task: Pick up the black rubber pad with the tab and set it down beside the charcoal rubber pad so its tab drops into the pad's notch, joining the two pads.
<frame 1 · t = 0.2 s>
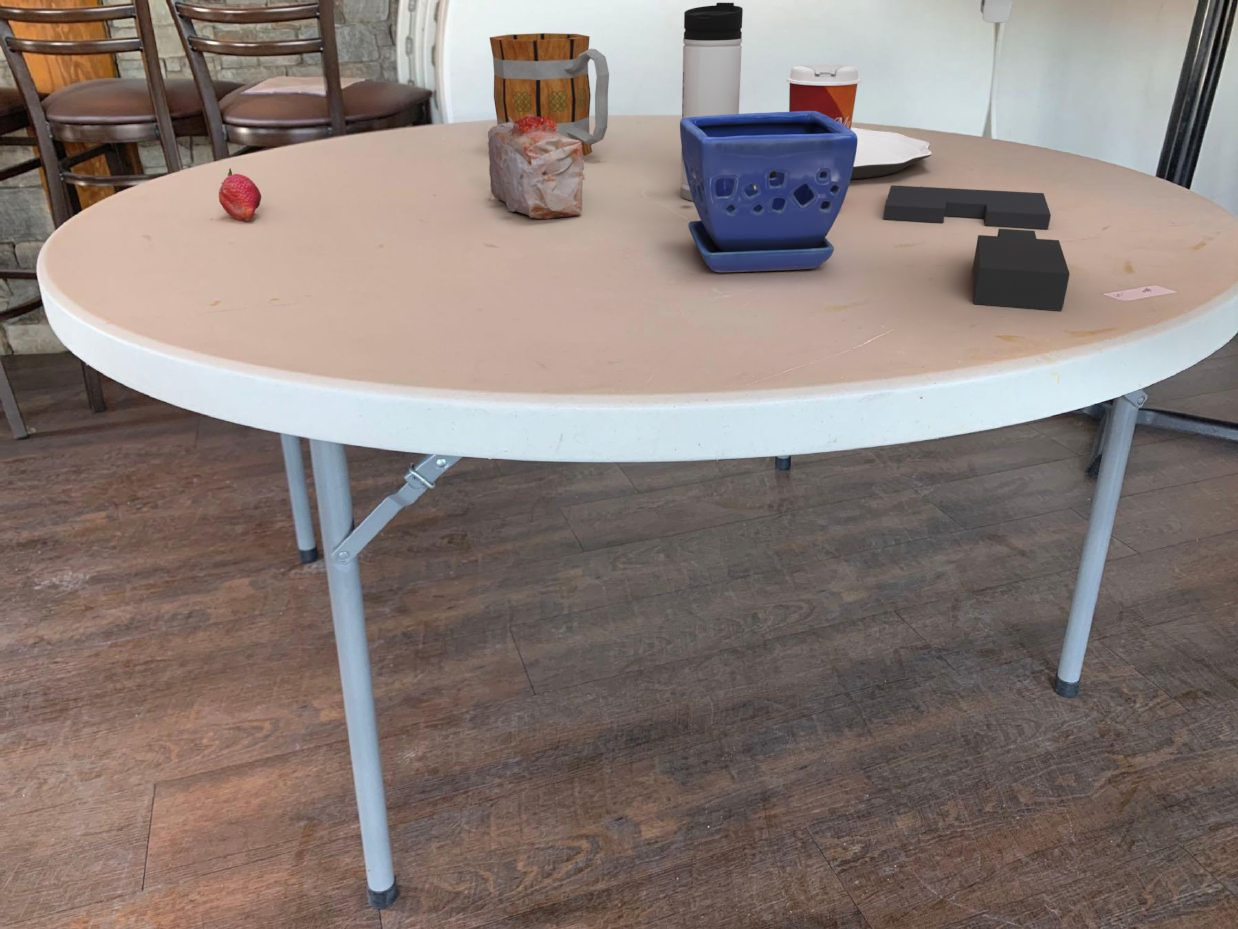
hand: (993, 18, 71), 20 cm above the table, tool pointing down, fingers open, 8 cm apart
fruit: (244, 219, 104), on the table
charcoal pad: (963, 213, 102), on the table
plate: (813, 163, 128), on the table
mug: (558, 156, 135), on the table
food item: (535, 210, 106), on the table
flower pot: (756, 261, 88), on the table
travel mug: (708, 197, 111), on the table
paper cup: (813, 203, 108), on the table
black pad: (1014, 288, 80), on the table
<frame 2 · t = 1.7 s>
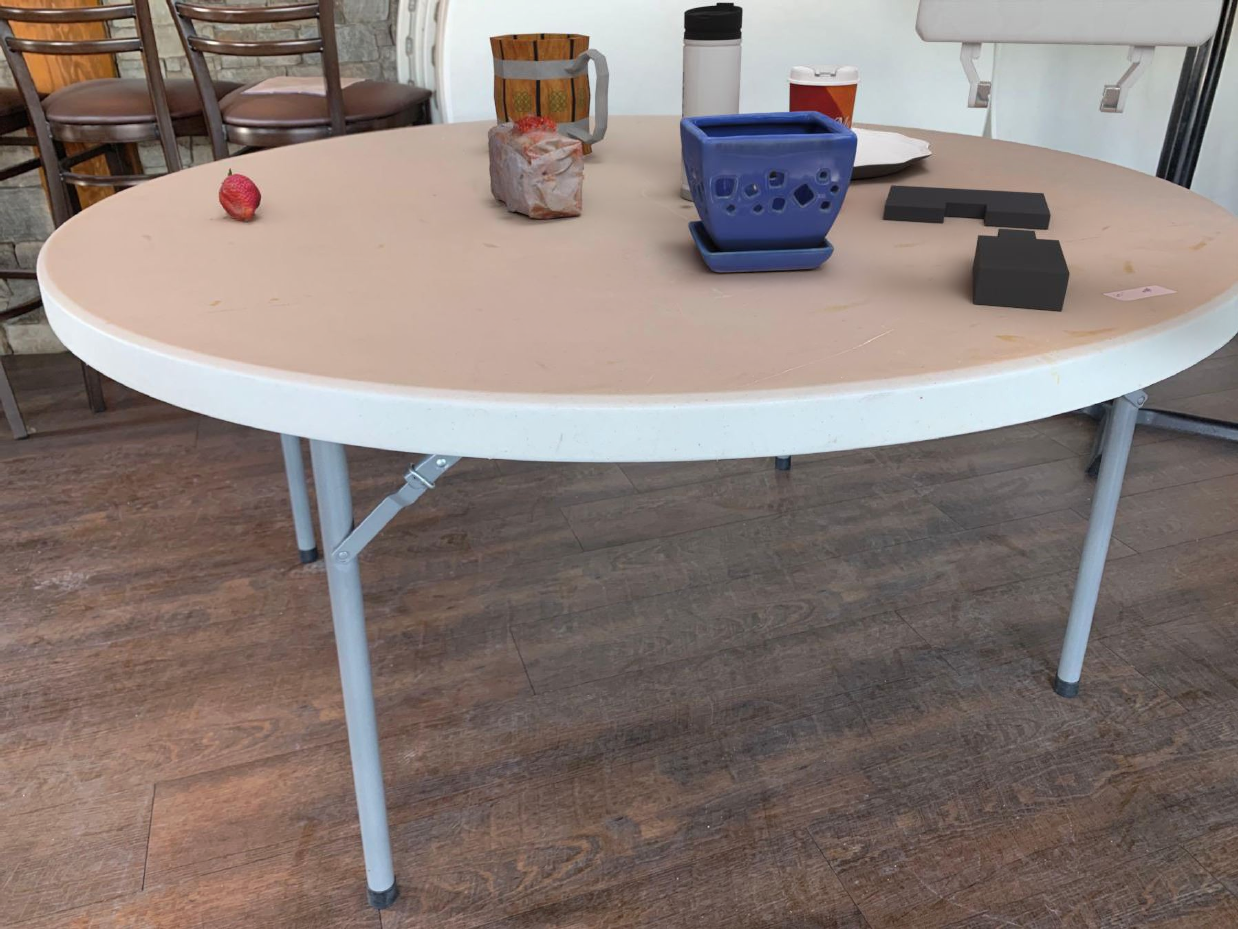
hand: (1042, 109, 73), 14 cm above the table, tool pointing down, fingers open, 8 cm apart
nothing on the table moved.
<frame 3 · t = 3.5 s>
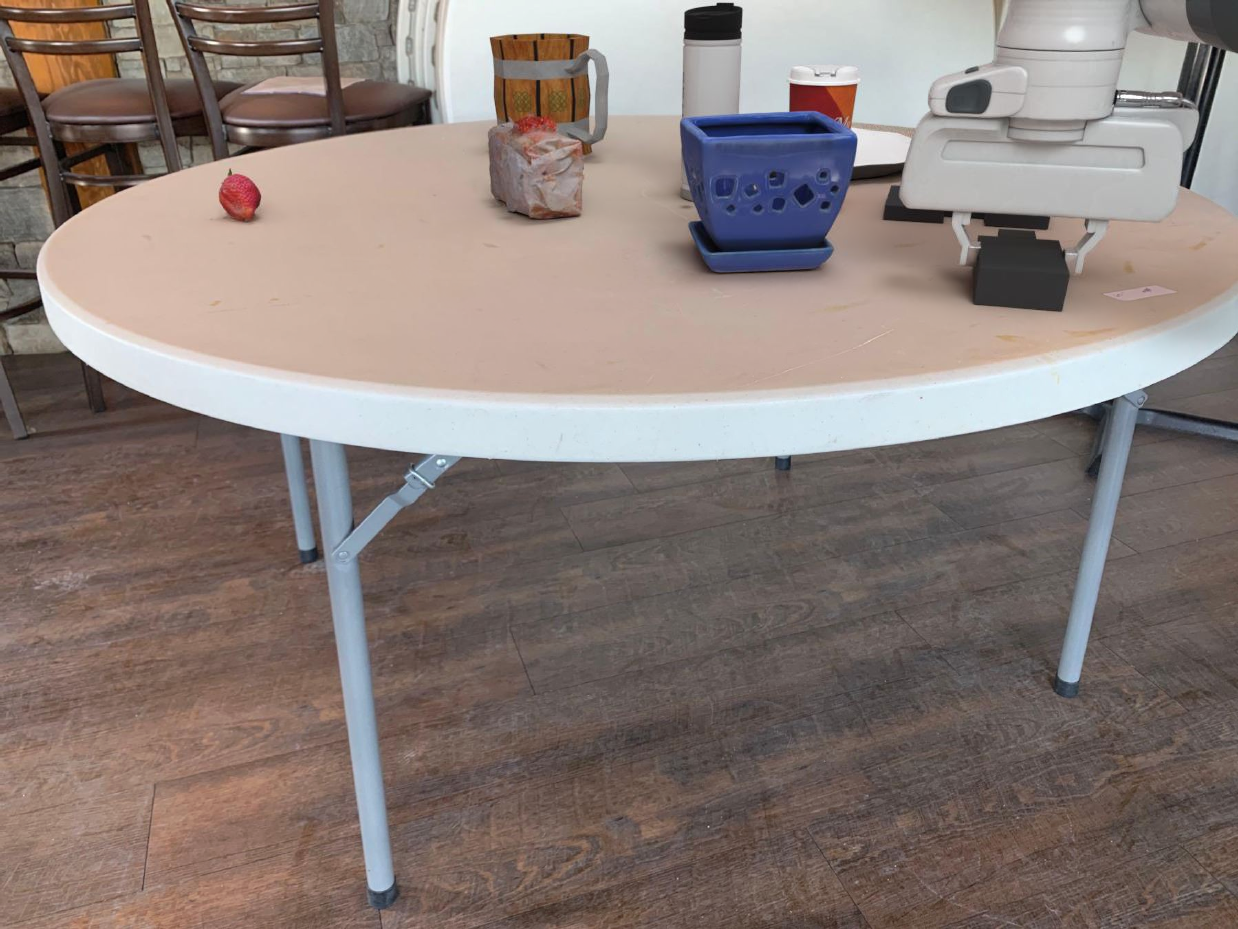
hand: (1017, 268, 79), 2 cm above the table, tool pointing down, fingers closed on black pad, 6 cm apart
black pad: (1014, 288, 80), on the table, touching gripper
everything else where it was.
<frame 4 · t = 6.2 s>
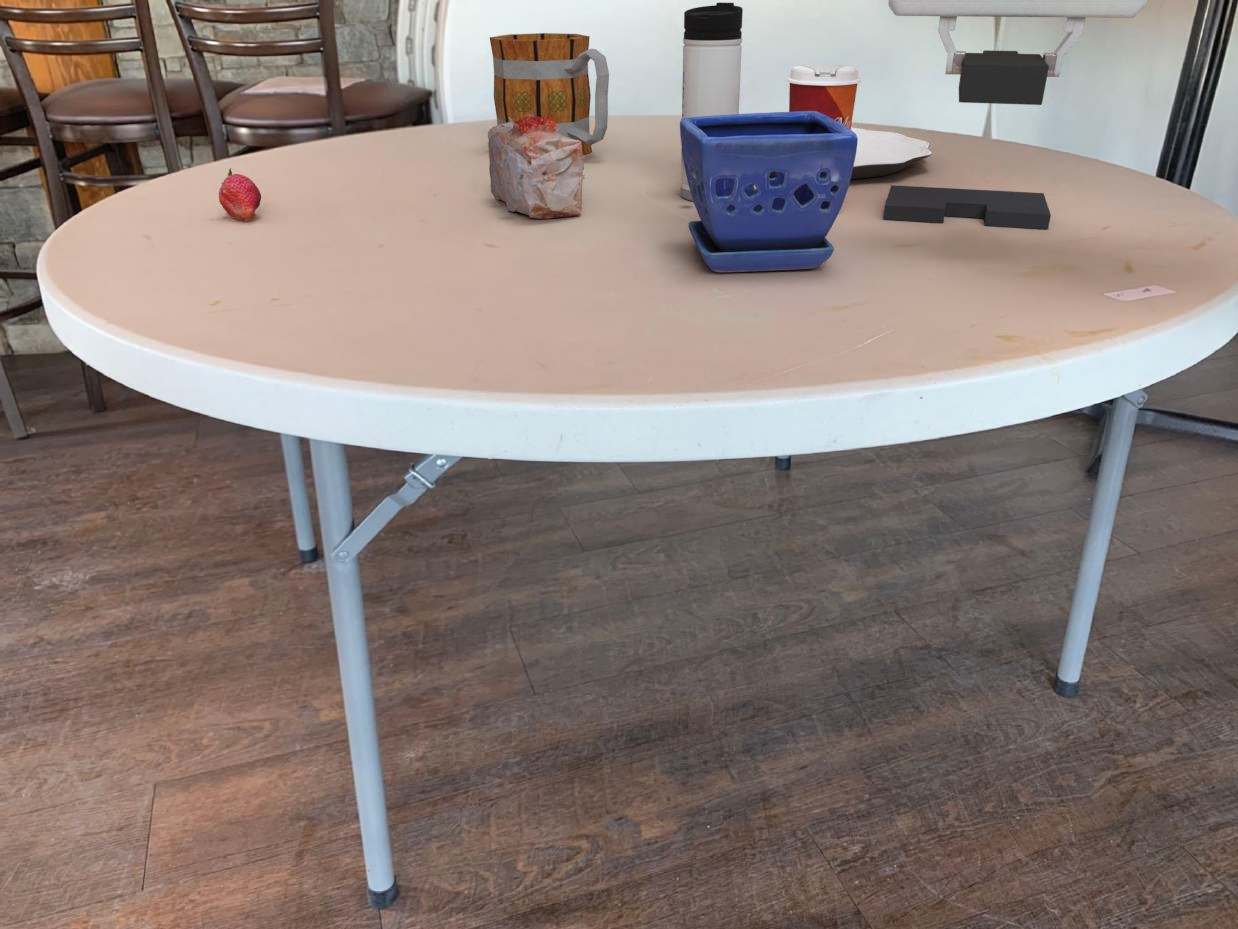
hand: (1000, 74, 83), 15 cm above the table, tool pointing down, fingers closed on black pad, 6 cm apart
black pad: (997, 95, 84), point 13 cm above the table, touching gripper
everything else where it was.
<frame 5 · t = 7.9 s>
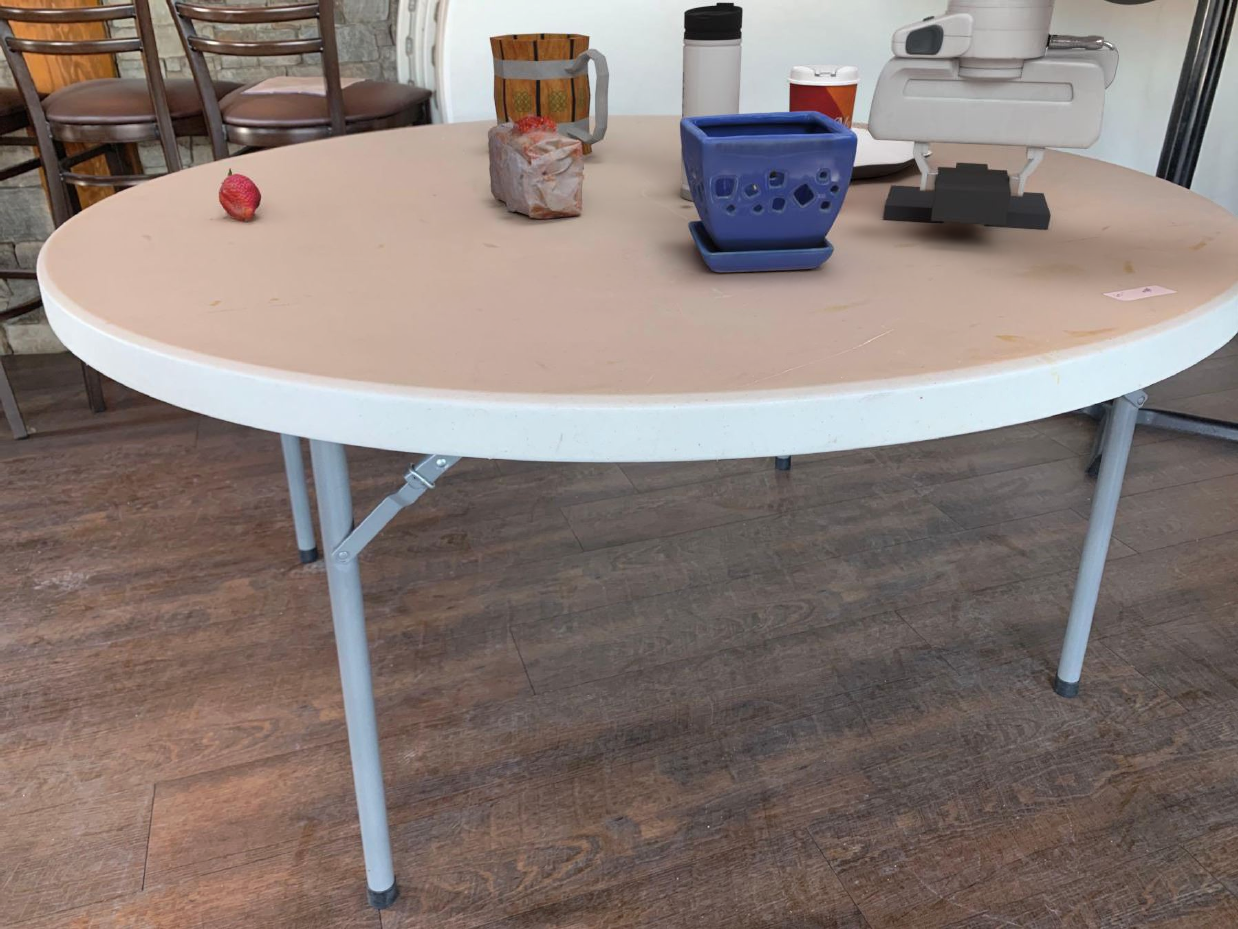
hand: (969, 192, 92), 4 cm above the table, tool pointing down, fingers closed on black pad, 6 cm apart
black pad: (967, 210, 92), point 3 cm above the table, touching gripper
everything else where it was.
when the fingers open (2 cm above the table, at t = 9.2 s): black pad stays where it is, on the table.
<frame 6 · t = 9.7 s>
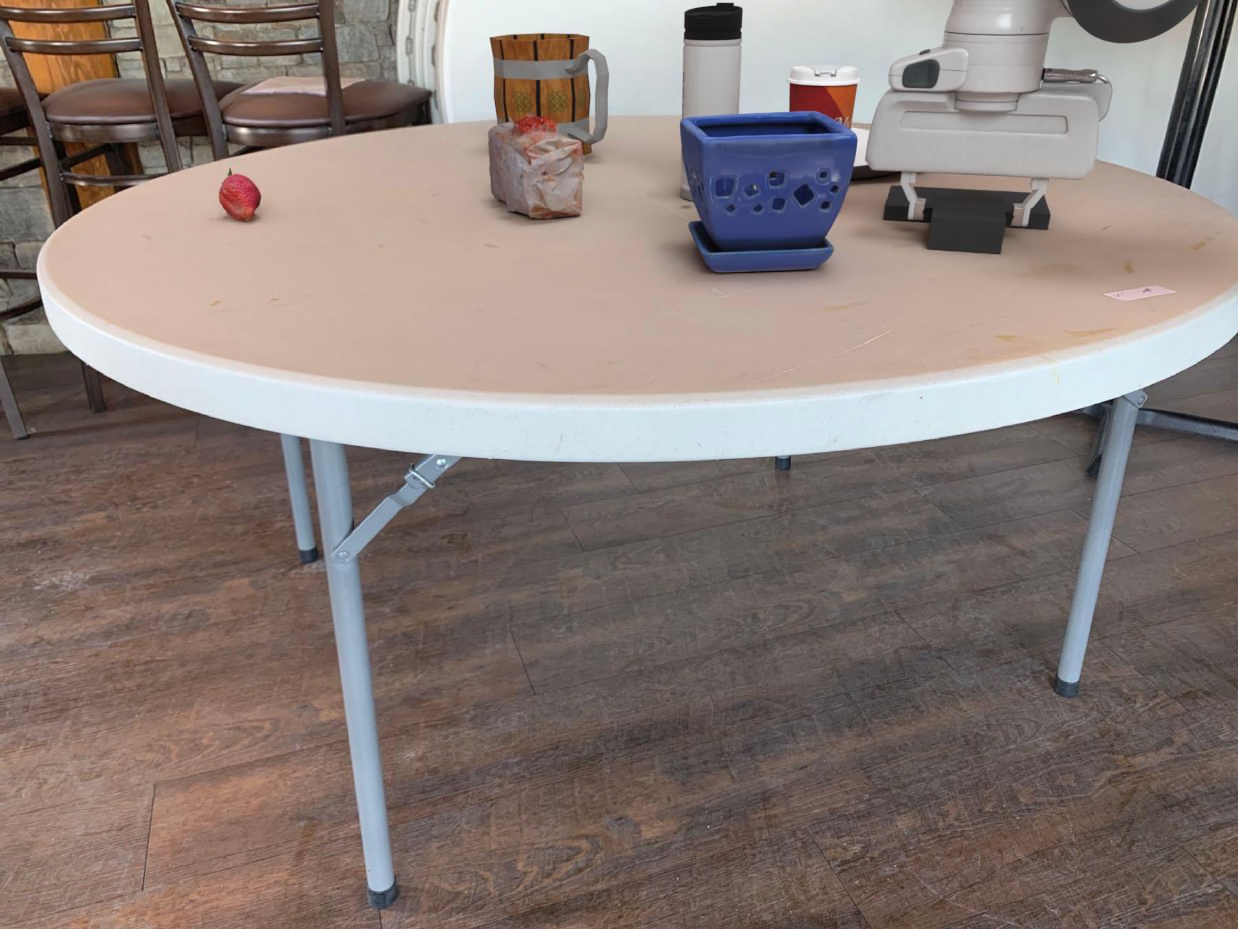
hand: (966, 221, 93), 2 cm above the table, tool pointing down, fingers open, 8 cm apart
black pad: (963, 237, 94), on the table
everything else where it was.
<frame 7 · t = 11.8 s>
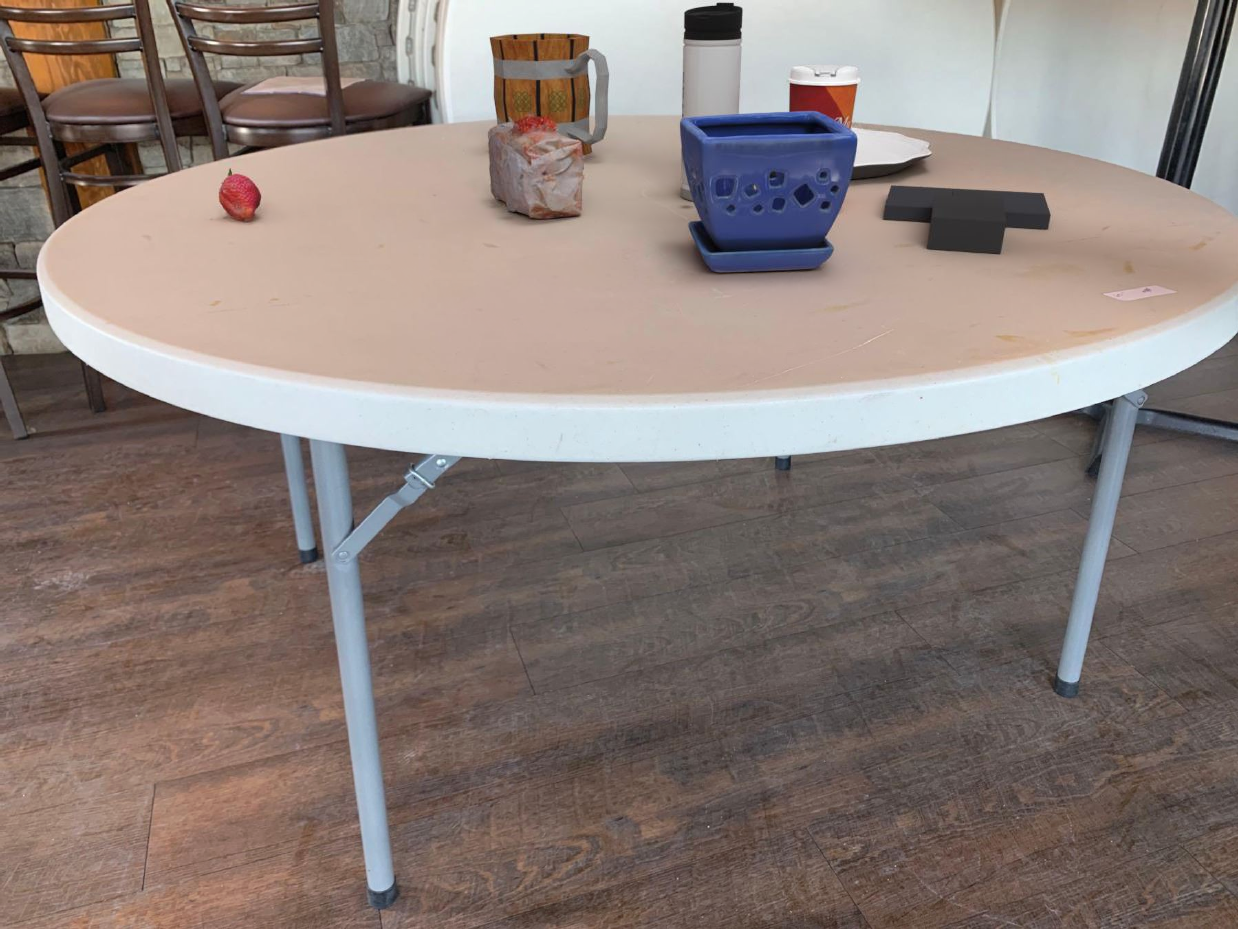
nothing on the table moved.
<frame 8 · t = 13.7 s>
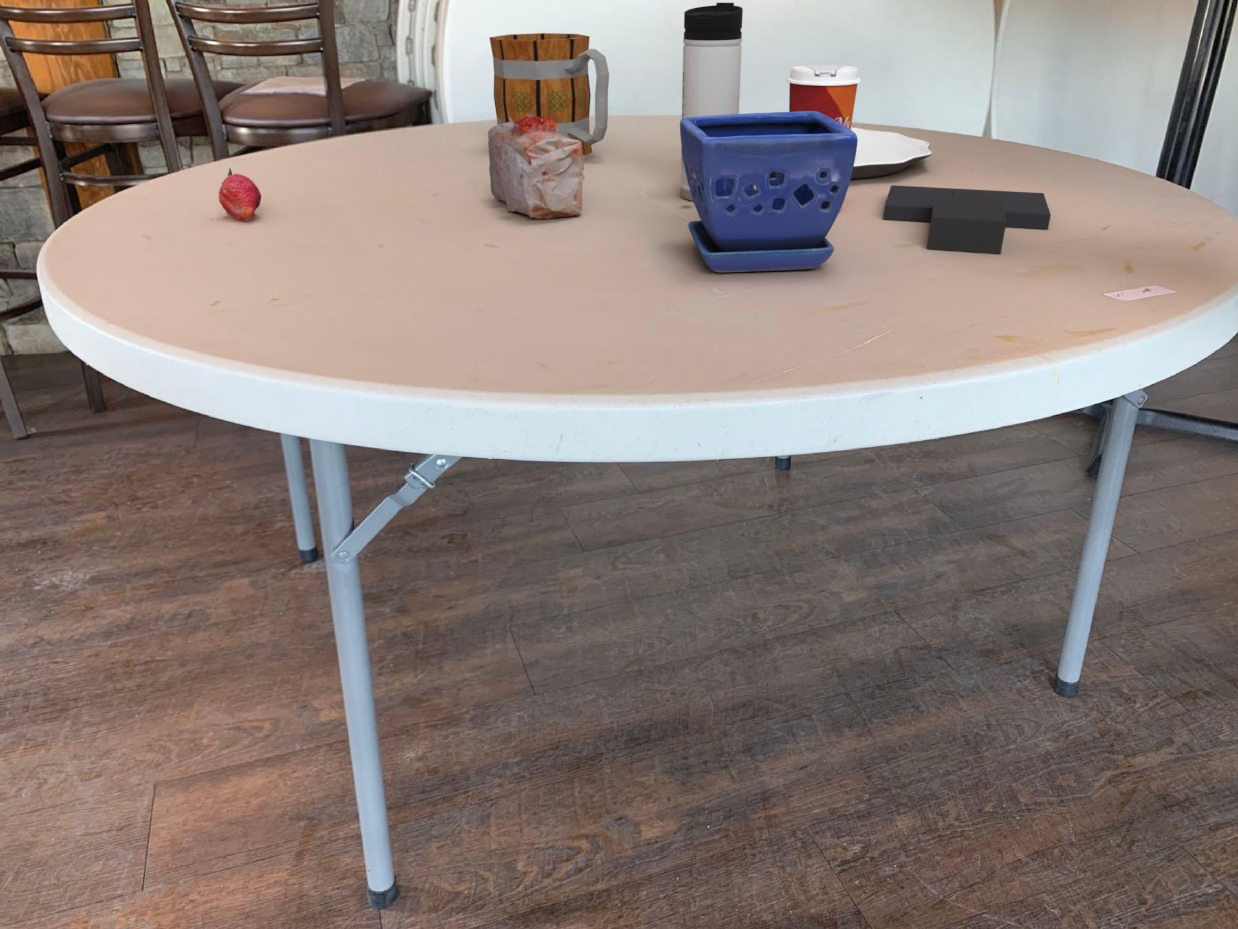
nothing on the table moved.
at the end: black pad 0.0 cm from the target spot on the table beside the charcoal pad, on the table; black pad tilted 0°; the gripper is holding nothing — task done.
